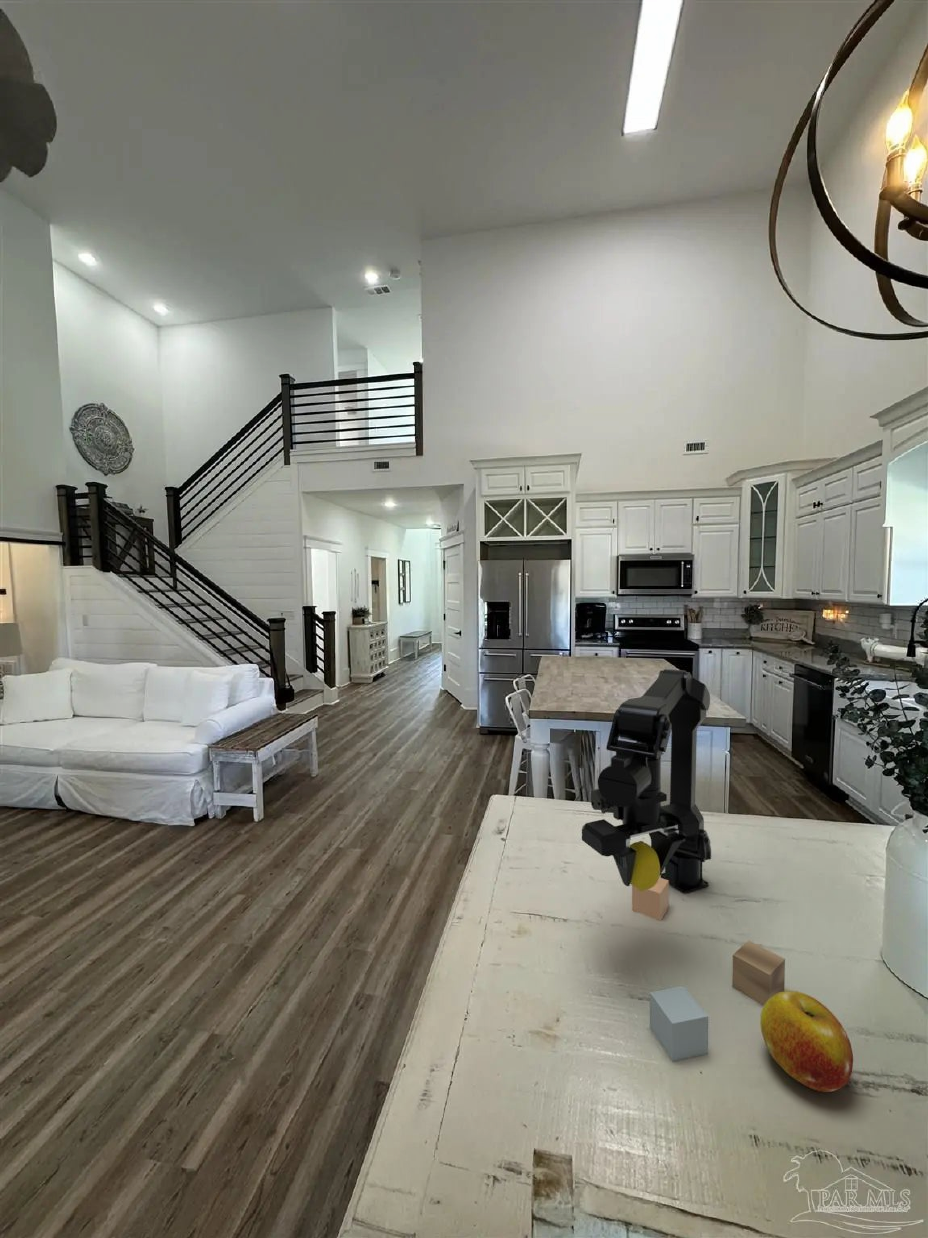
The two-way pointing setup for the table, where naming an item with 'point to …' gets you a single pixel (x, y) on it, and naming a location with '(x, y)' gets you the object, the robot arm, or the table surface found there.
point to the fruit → (807, 1041)
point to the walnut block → (758, 972)
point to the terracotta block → (652, 899)
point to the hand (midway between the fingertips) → (641, 880)
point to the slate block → (678, 1023)
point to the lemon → (645, 866)
